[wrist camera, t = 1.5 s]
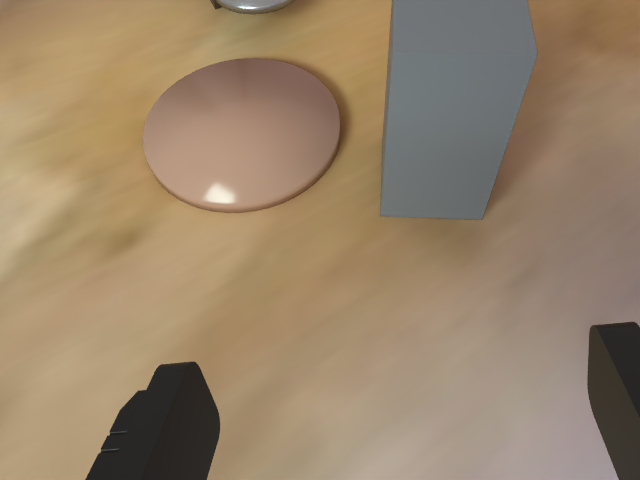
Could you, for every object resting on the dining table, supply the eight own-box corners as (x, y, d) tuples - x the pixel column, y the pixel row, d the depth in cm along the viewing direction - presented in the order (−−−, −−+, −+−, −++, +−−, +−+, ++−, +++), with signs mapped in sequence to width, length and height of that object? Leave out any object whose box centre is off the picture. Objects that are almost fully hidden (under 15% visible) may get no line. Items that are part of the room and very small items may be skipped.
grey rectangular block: (380, 215, 34) (392, 52, 24) (382, 141, 38) (394, -31, 28) (482, 219, 34) (537, 54, 24) (475, 144, 37) (521, -30, 27)
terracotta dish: (125, 106, 40) (120, 95, 40) (292, 48, 43) (291, 37, 42) (181, 243, 34) (177, 234, 33) (375, 165, 36) (375, 155, 36)
